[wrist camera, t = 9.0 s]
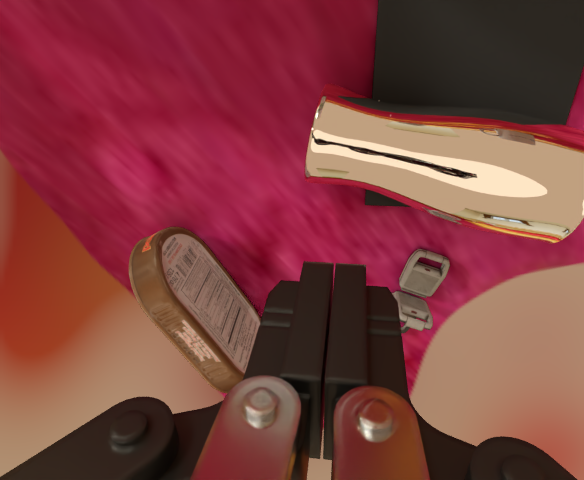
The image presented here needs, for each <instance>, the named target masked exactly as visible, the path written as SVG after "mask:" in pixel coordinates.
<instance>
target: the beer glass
mask: <svg viewBox="0 0 584 480" xmlns="http://www.w3.org/2000/svg"><path fill="white" fill-rule="evenodd" d="M304 177H305V180H306V181H307V182H309V183H317V184H336V185H347V186H353V187H359V188H363V189H367V190H370V191H374V192H377V193H379V194H382V195H385V196H387V197H390V198H392V199H395V200H397V201H399V202H402V203H404V204H406V205H409V206H411V207H413V208H416V209H418V210H420V211H423V212H425V213H428V214H430V215H433V216H435V217H438V218H441V219H443V220H446V221H449V222H452V223H455V224H458V225H462V226H465V227H469V228H473V229H476V230H481V231H486V232H490V233H495V234H500V235H506V236H512V237H518V238H525V239H532V240H538V241H544V242H547V243H556V242H559V241H561V240H563V239H565V238H566V237H567V236H569V235H570V234H571V233H572V232H573V231H574V230H575V229H576V227H577V226H578V225H579V224H580V222H581V221H582V220H583V218H584V131H583V130H579V129H576V128H572V127H569V126H566V125H562V124H559V123H556V122H552V121H549V120H545V119H541V118H537V117H533V116H529V115H525V114H520V113H515V112H509V111H503V110H498V109H491V108H478V107H464V106H429V105H404V104H395V103H388V102H382V101H378V100H374V99H371V98H368V97H365V96H362V95H359V94H357V93H354V92H352V91H350V90H347V89H345V88H342V87H340V86H337V85H335V84H331V83H328V84H326V85H325V87H324V88H323V91H322V93H321V95H320V98H319V101H318V104H317V107H316V111H315V114H314V118H313V122H312V126H311V131H310V135H309V140H308V146H307V151H306V158H305V169H304Z"/></svg>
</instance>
